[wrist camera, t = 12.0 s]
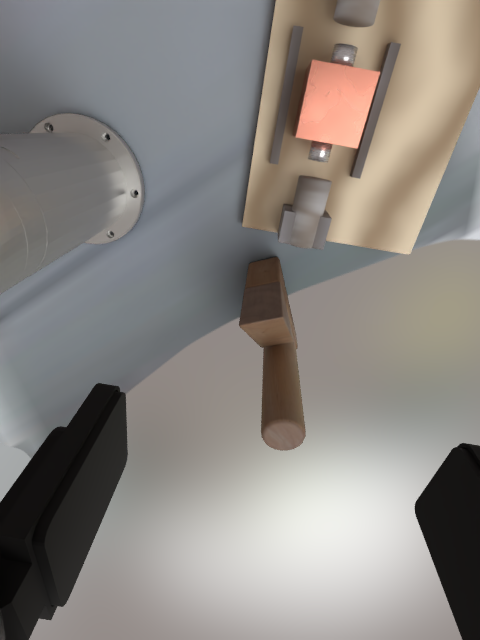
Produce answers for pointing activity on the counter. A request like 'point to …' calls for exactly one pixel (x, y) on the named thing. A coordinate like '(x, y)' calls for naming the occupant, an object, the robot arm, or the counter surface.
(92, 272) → the counter surface
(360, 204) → the jig
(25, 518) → the robot arm
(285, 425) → the brown long handled part
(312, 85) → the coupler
